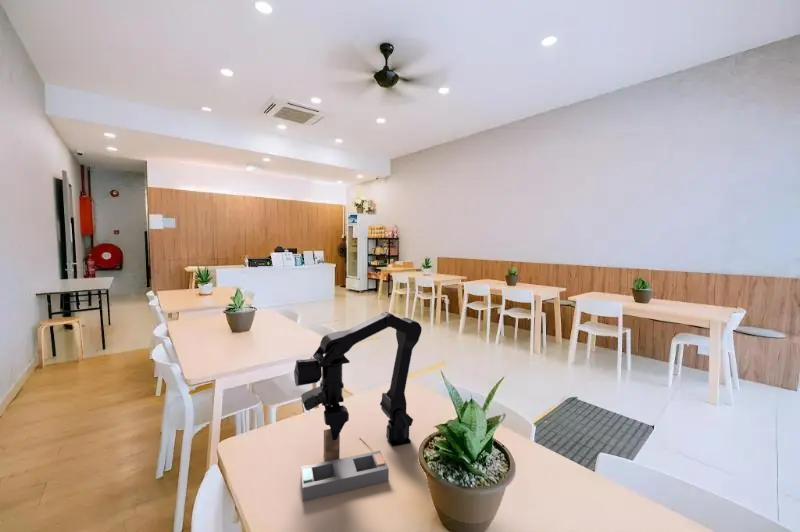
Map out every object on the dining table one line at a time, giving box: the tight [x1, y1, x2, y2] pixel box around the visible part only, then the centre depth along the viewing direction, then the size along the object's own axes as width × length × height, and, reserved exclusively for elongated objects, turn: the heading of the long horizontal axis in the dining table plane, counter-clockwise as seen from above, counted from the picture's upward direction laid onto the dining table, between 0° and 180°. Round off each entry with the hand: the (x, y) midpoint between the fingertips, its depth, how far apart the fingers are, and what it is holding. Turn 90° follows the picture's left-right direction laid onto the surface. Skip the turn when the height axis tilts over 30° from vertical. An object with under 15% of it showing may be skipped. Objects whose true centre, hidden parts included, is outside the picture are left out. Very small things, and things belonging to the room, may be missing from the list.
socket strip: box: [300, 450, 390, 502], centre depth 88 cm, size 22×8×4 cm, turn 110°
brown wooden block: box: [323, 428, 341, 462], centre depth 96 cm, size 4×4×8 cm
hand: (332, 431), depth 96 cm, fingers open, 9 cm apart
